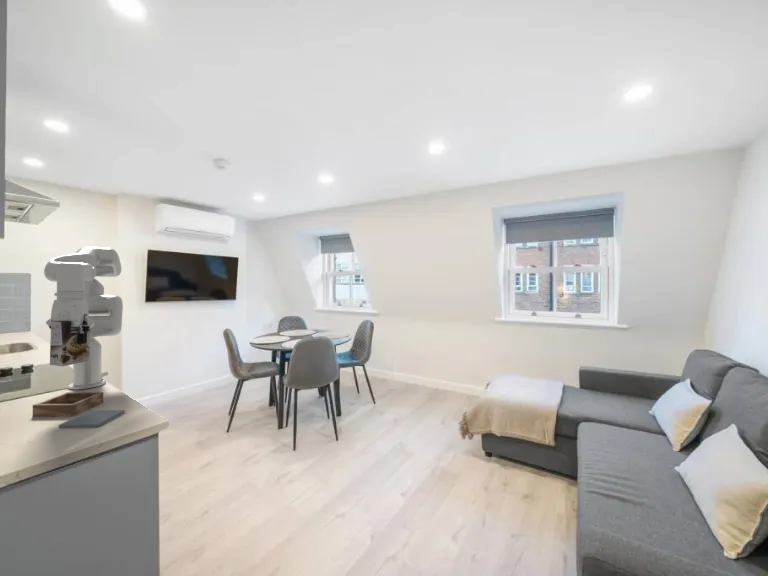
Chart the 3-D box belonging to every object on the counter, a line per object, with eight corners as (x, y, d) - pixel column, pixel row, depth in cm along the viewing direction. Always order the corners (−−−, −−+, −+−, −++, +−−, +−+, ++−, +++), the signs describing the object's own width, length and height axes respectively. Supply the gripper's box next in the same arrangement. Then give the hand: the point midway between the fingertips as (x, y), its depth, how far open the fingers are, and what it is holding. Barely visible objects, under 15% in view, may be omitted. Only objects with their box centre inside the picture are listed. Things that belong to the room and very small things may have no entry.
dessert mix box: (63, 366, 116) (63, 321, 116) (49, 365, 117) (49, 320, 117) (90, 360, 125) (91, 319, 125) (77, 359, 126) (77, 318, 126)
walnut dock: (67, 402, 127) (67, 392, 127) (103, 402, 128) (103, 392, 128) (32, 416, 114) (32, 405, 114) (73, 416, 115) (73, 405, 115)
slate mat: (89, 413, 118) (89, 410, 118) (124, 412, 119) (124, 410, 119) (58, 427, 106) (58, 424, 106) (98, 427, 107) (98, 424, 107)
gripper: (35, 295, 116) (35, 345, 117) (87, 297, 118) (87, 345, 118) (55, 294, 124) (55, 341, 124) (103, 296, 125) (103, 341, 125)
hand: (70, 343), depth 121 cm, fingers closed on dessert mix box, 7 cm apart
